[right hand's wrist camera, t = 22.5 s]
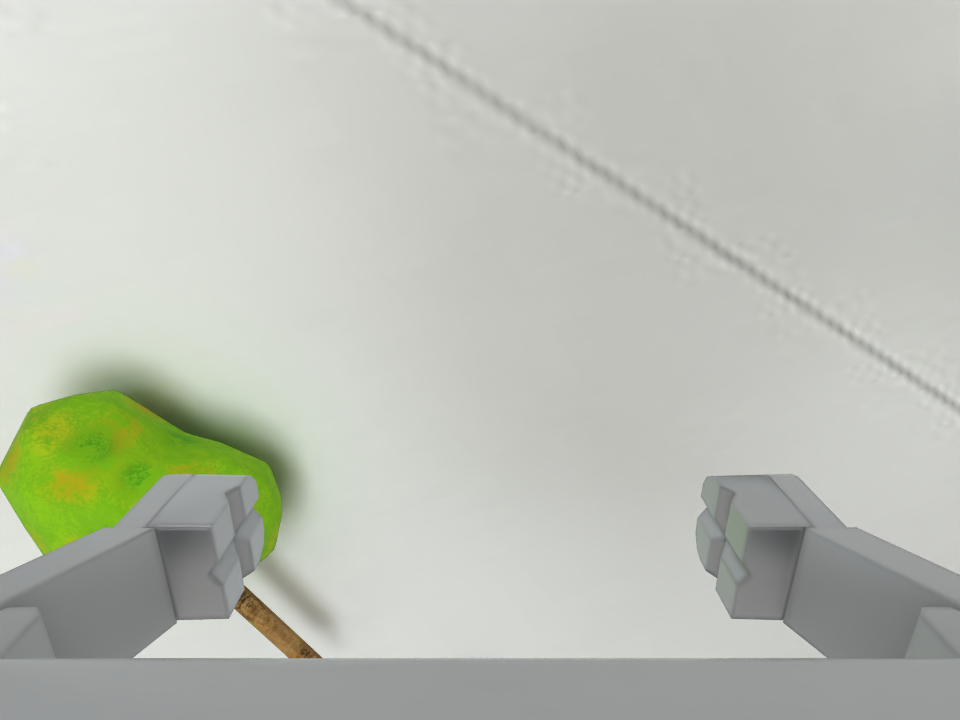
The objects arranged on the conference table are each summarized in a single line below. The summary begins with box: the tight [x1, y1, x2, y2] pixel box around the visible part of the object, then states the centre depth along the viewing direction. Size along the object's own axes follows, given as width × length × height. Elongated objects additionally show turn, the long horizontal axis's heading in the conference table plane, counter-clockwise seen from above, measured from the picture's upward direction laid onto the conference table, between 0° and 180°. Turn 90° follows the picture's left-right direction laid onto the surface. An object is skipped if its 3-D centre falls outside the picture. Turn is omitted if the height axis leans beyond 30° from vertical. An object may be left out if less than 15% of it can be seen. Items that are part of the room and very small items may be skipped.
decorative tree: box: [0, 391, 322, 658], centre depth 44 cm, size 18×10×30 cm
